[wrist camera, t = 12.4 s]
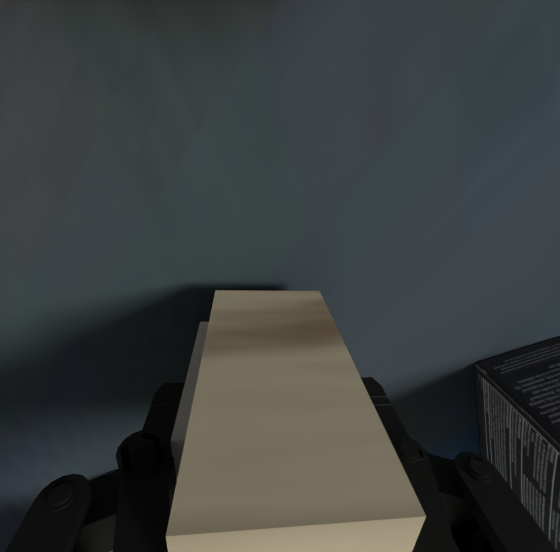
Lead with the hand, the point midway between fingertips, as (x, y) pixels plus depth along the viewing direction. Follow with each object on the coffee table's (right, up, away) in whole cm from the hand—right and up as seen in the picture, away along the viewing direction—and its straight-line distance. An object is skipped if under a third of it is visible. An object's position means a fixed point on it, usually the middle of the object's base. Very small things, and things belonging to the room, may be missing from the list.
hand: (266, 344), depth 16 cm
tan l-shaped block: (0, -7, +3) cm, 8 cm away
